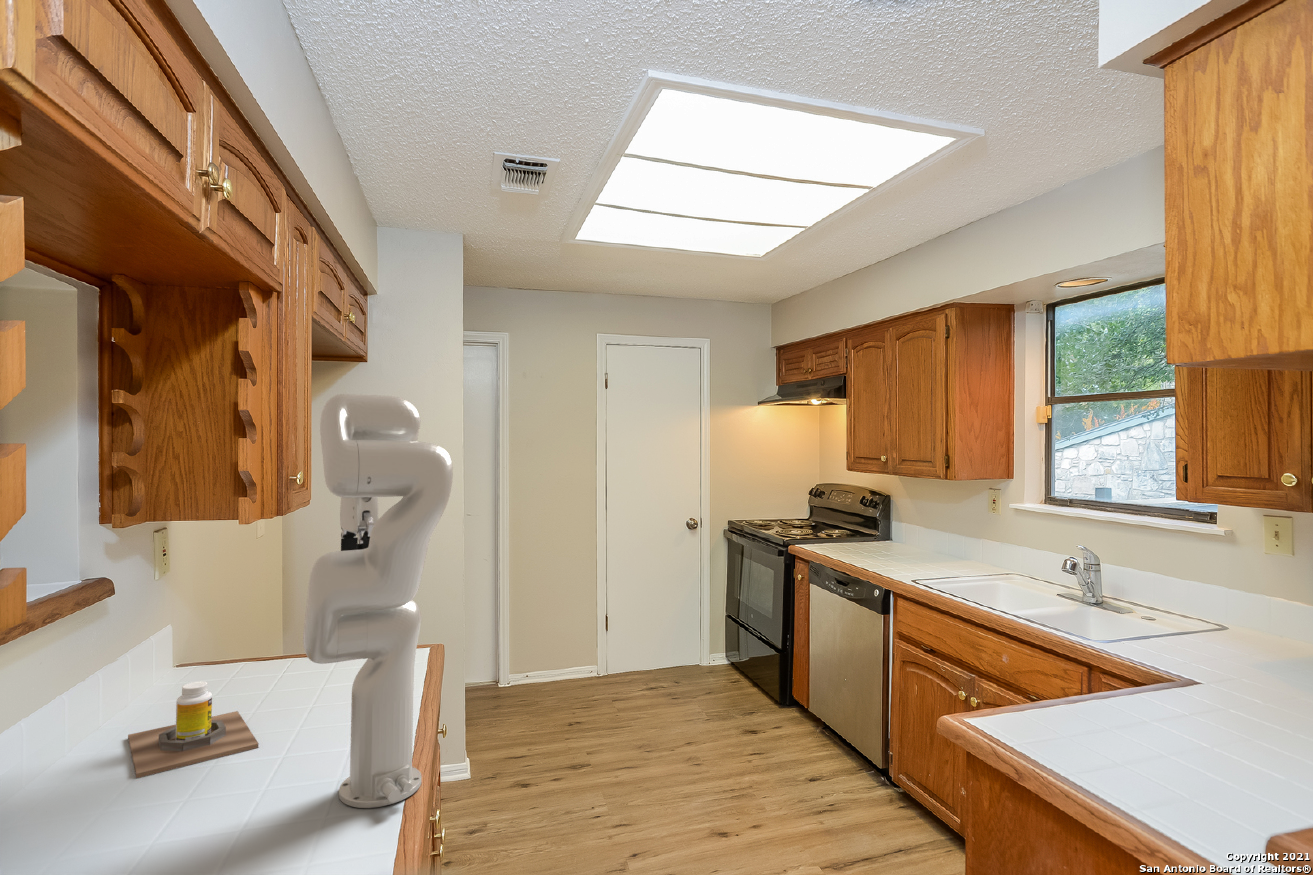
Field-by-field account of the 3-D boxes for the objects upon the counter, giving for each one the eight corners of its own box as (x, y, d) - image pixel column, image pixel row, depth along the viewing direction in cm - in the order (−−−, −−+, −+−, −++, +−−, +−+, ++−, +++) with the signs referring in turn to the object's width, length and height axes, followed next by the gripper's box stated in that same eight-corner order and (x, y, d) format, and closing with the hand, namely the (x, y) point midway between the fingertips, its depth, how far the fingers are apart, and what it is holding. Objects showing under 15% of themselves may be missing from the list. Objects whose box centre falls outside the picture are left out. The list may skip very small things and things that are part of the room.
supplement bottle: (212, 740, 125) (214, 685, 125) (176, 748, 122) (177, 692, 122) (209, 730, 130) (210, 677, 130) (174, 737, 126) (175, 683, 126)
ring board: (258, 747, 124) (258, 735, 124) (136, 778, 112) (136, 764, 112) (237, 714, 139) (237, 703, 139) (127, 738, 127) (128, 726, 127)
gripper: (392, 477, 133) (390, 563, 132) (363, 474, 145) (361, 553, 145) (353, 478, 128) (351, 568, 127) (326, 475, 140) (324, 556, 140)
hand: (356, 560), depth 136 cm, fingers open, 9 cm apart
